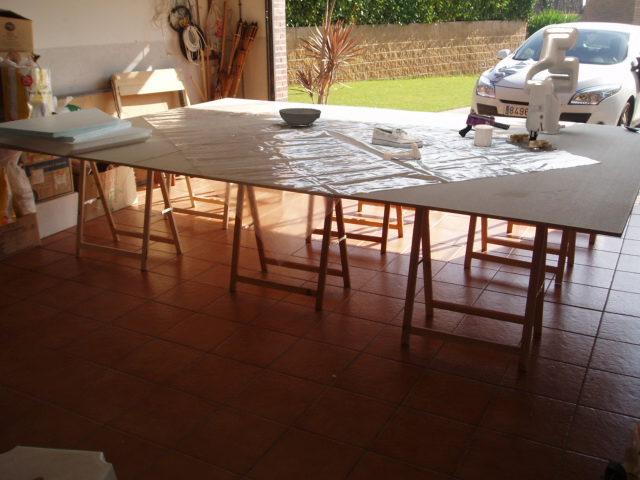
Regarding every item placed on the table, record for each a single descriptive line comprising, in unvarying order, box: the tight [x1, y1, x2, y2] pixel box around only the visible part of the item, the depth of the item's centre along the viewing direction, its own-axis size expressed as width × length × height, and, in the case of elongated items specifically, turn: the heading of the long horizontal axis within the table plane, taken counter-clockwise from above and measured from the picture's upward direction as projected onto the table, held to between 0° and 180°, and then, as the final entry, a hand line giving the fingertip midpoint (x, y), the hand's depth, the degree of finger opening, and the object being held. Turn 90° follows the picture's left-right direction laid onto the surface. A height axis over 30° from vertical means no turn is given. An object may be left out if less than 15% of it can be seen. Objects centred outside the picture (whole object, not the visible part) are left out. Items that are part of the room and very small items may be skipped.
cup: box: [473, 125, 494, 147], centre depth 309 cm, size 10×10×10 cm
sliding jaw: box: [529, 139, 550, 148], centre depth 298 cm, size 10×3×3 cm, turn 106°
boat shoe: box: [371, 126, 424, 149], centre depth 312 cm, size 11×29×10 cm, turn 65°
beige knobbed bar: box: [383, 142, 422, 161], centre depth 284 cm, size 4×18×10 cm, turn 91°
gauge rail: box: [509, 133, 553, 149], centre depth 305 cm, size 10×26×5 cm, turn 16°
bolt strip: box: [505, 139, 558, 154], centre depth 305 cm, size 13×26×1 cm, turn 16°
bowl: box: [278, 107, 322, 126], centre depth 370 cm, size 26×26×10 cm
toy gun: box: [458, 111, 511, 138], centre depth 326 cm, size 3×26×15 cm, turn 78°
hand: (532, 144), depth 300 cm, fingers closed
